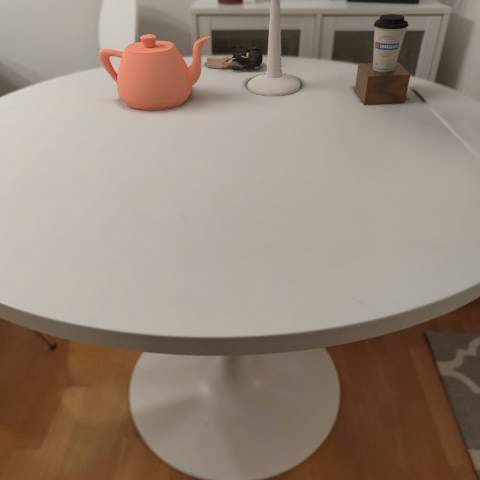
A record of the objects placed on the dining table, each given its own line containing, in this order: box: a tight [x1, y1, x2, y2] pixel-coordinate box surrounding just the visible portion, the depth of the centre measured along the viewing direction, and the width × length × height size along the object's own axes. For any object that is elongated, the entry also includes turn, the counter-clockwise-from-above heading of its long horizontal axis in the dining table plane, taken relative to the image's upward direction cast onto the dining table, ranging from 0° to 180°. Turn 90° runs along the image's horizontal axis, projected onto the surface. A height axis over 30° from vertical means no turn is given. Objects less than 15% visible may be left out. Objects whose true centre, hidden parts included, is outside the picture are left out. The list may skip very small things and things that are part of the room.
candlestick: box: [247, 0, 301, 97], centre depth 101 cm, size 13×13×30 cm
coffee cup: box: [372, 13, 409, 72], centre depth 96 cm, size 7×7×10 cm
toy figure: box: [206, 43, 264, 72], centre depth 121 cm, size 7×6×15 cm
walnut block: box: [354, 61, 411, 106], centre depth 102 cm, size 9×9×6 cm
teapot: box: [98, 33, 211, 111], centre depth 102 cm, size 25×17×13 cm
